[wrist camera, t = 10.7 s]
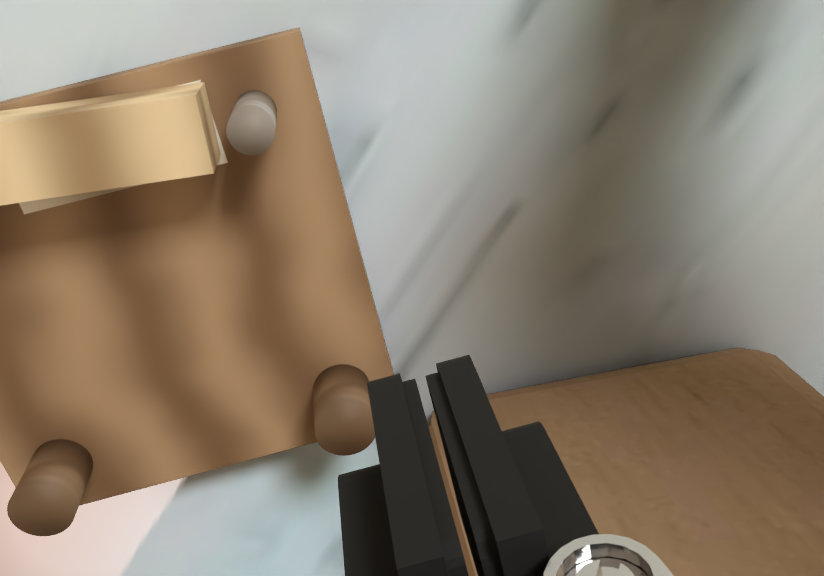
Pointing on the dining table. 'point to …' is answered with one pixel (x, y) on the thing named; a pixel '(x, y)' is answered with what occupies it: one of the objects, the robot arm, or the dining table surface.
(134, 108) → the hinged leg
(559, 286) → the dining table surface
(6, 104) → the board
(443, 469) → the wooden block
